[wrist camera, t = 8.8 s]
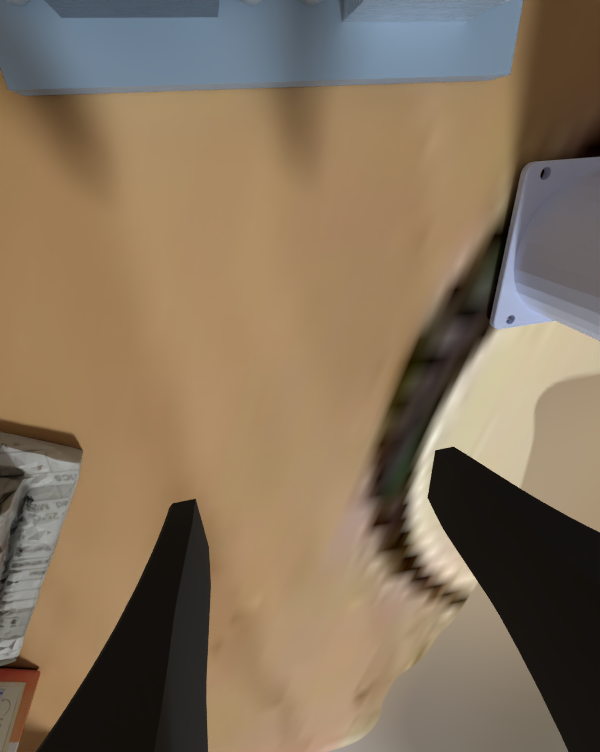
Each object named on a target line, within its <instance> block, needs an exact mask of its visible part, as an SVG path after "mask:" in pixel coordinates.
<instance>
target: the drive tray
mask: <svg viewBox="0 0 600 752" xmlns="http://www.w3.org/2000/svg"><path fill="white" fill-rule="evenodd" d="M522 4H523V0H506V1H504V2H502V3H500V4H498V5H497V6H495V7H493V8H491V9H489V10H487V11H485V12H484V13H482V14H480V15H478V16H476V17H474V18H472V19H470V20H469V21H467V22H343V23H342V0H219V10H218V17H187V18H61V17H60V16H59V15H58V14H57V13H56V12H55V11H54V10H53V9H52V8H51V7H50V6H49V5H48V4H47V3H46V2H45V1H44V0H0V68H1V71H2V73H3V76H4V79H5V82H6V85H7V88H8V90H9V91H12V92H15V93H18V94H20V95H23V96H39V95H68V94H98V93H128V92H158V91H188V90H218V89H248V88H278V87H308V86H338V85H368V84H398V83H428V82H458V81H488V80H493V79H496V78H500V77H503V76H507V75H510V72H511V67H512V61H513V55H514V50H515V44H516V38H517V33H518V27H519V21H520V16H521V10H522Z"/></svg>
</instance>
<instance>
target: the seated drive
mask: <svg viewBox="0 0 600 752" xmlns="http://www.w3.org/2000/svg"><path fill="white" fill-rule="evenodd" d="M504 1H506V0H342V23H343V22H467V21H469V20H470V19H472V18H474V17H476V16H478V15H480V14H482V13H484V12H485V11H487V10H489V9H491V8H493V7H495V6H497V5H498V4H500V3H502V2H504Z"/></svg>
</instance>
